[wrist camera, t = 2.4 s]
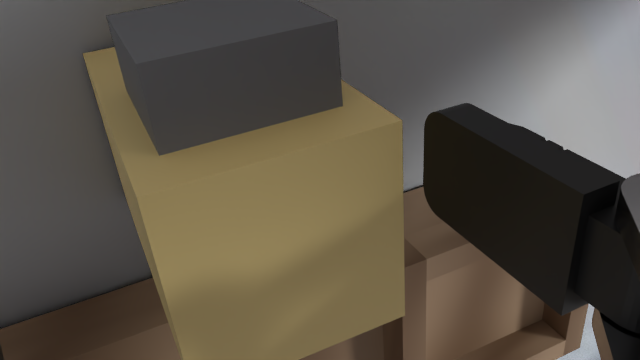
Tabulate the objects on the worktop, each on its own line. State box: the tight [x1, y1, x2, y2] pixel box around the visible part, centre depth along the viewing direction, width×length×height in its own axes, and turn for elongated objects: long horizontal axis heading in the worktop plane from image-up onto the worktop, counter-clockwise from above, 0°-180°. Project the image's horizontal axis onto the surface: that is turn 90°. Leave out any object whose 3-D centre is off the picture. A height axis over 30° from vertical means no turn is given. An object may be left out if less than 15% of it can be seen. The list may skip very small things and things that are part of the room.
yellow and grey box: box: [83, 0, 405, 360], centre depth 12 cm, size 5×4×7 cm
